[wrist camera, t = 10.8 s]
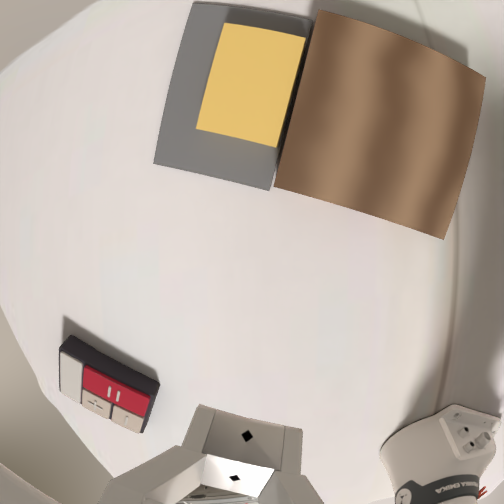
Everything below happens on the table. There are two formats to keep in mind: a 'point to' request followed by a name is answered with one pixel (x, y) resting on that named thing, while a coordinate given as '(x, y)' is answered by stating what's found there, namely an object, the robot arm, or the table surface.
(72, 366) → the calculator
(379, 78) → the panel
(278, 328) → the table surface
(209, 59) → the mat
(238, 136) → the yellow rectangular block
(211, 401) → the table surface
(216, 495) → the hard drive
